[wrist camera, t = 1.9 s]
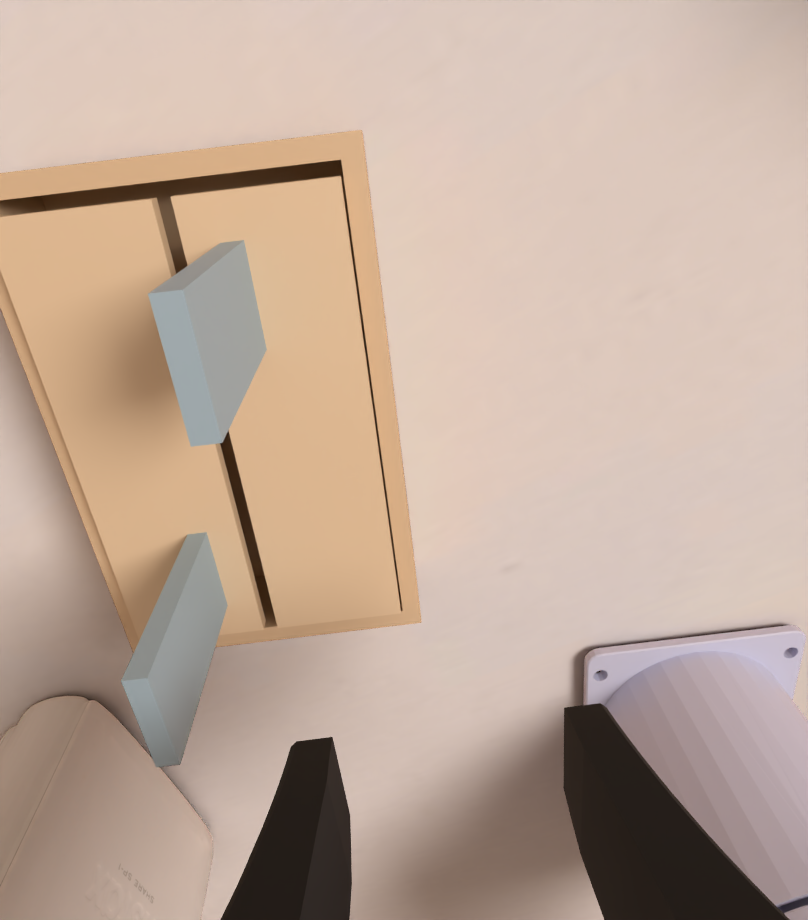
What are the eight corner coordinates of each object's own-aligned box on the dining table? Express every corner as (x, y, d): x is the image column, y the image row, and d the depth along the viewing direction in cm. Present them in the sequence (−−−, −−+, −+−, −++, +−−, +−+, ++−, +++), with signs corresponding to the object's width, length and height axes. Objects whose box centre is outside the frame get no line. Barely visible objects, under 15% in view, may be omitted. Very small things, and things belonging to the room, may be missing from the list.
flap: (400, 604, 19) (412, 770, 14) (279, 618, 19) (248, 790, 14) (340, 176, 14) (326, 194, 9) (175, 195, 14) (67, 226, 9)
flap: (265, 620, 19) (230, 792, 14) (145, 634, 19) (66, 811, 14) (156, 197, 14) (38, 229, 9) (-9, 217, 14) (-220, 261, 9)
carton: (414, 563, 22) (421, 622, 19) (163, 593, 22) (135, 656, 19) (362, 132, 16) (361, 130, 13) (20, 172, 16) (-50, 179, 13)
